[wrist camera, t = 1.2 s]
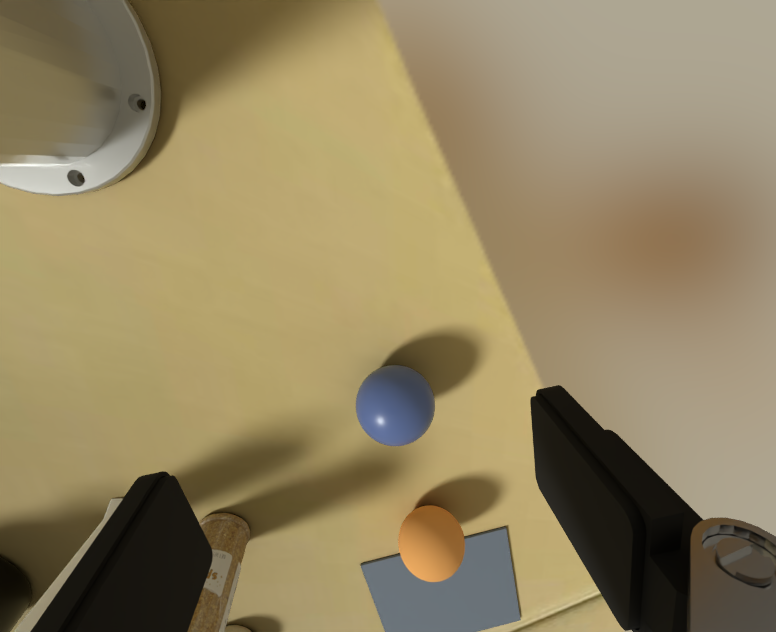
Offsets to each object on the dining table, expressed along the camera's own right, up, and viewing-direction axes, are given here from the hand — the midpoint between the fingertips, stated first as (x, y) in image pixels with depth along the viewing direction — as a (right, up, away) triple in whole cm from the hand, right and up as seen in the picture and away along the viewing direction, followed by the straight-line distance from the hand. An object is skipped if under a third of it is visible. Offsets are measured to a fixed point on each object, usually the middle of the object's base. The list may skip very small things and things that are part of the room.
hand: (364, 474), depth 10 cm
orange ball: (+4, -15, +22) cm, 27 cm away
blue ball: (+1, -2, +17) cm, 17 cm away
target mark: (+6, -24, +29) cm, 38 cm away
